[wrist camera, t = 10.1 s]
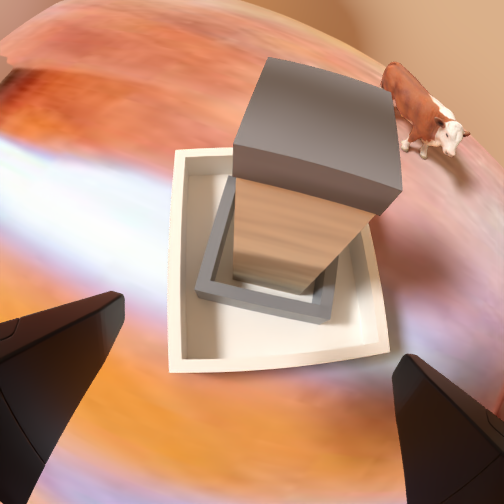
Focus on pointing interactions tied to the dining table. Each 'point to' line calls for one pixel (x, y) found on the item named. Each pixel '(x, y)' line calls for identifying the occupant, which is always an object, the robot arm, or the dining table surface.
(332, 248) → the wooden block
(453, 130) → the bull figurine
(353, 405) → the dining table surface
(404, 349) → the dining table surface
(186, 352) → the walled box
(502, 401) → the dining table surface
